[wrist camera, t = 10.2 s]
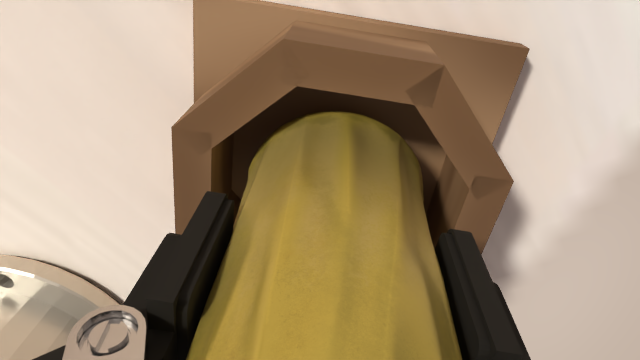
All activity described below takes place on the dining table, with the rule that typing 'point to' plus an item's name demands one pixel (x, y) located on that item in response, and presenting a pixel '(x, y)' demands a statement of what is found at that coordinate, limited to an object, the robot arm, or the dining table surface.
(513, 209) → the dining table surface
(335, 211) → the vase
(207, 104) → the collar
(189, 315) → the robot arm
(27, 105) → the dining table surface
